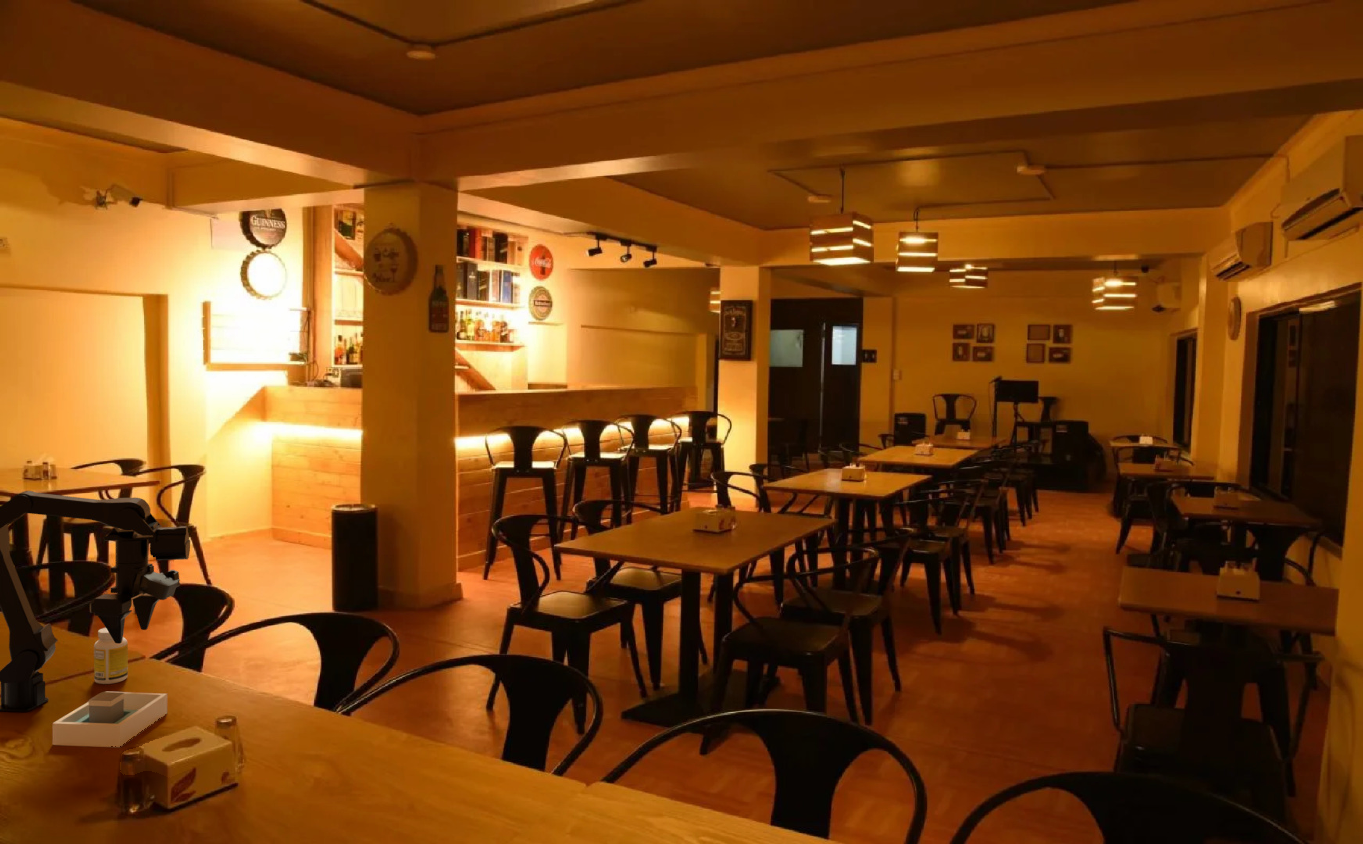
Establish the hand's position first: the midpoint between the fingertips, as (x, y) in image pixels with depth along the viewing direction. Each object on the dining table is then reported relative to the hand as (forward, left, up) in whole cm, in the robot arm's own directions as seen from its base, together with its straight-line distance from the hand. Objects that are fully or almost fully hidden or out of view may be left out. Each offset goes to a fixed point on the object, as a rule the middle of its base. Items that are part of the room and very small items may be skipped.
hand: (131, 636), depth 190 cm
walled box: (+5, -15, -13) cm, 20 cm away
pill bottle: (-10, +10, -13) cm, 19 cm away
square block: (+5, -17, -12) cm, 21 cm away
